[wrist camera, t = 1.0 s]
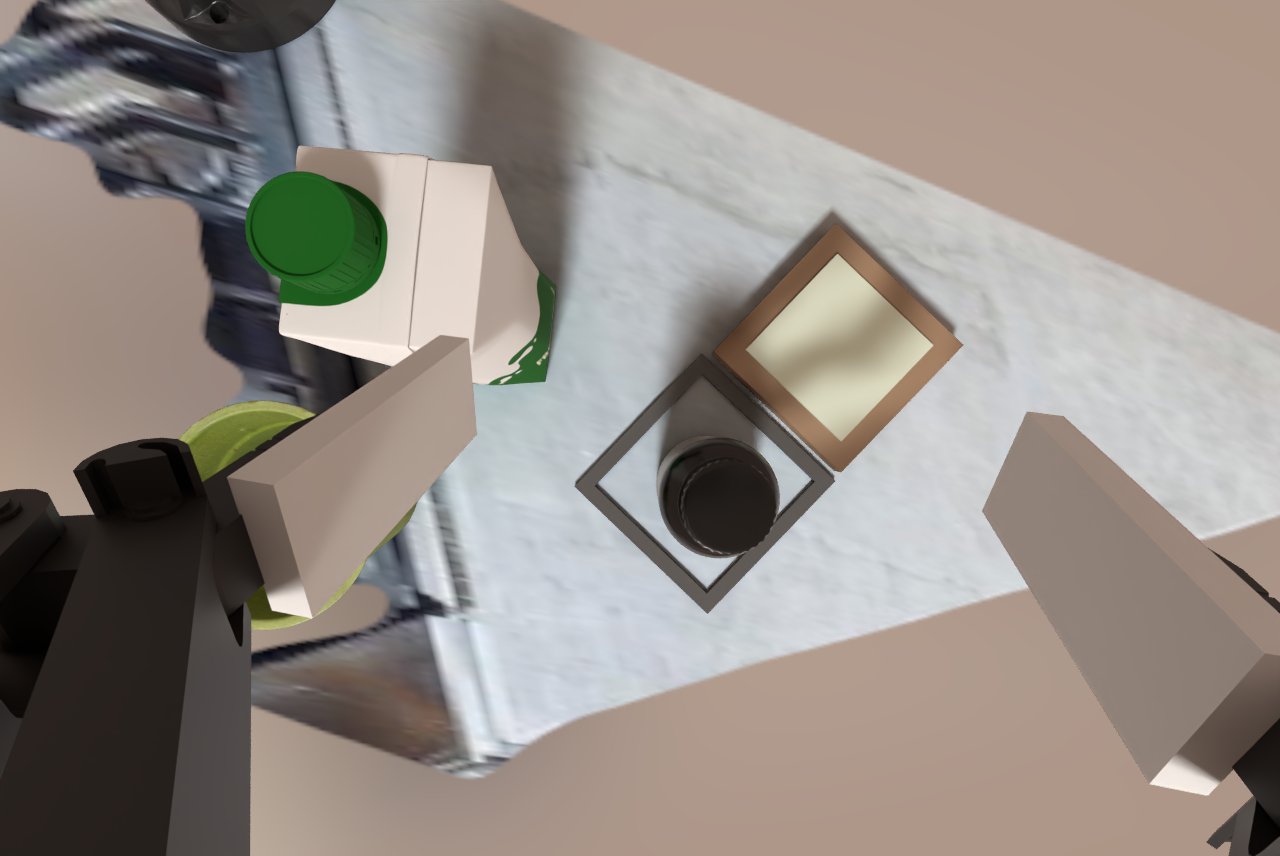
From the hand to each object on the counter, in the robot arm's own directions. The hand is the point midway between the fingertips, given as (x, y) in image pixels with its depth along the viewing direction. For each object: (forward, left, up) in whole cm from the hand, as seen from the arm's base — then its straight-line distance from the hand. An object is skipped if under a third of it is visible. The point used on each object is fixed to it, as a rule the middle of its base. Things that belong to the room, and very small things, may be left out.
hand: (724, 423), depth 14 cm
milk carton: (-14, -3, -26) cm, 30 cm away
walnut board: (+4, +12, -26) cm, 29 cm away
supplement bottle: (+4, -1, -26) cm, 27 cm away
